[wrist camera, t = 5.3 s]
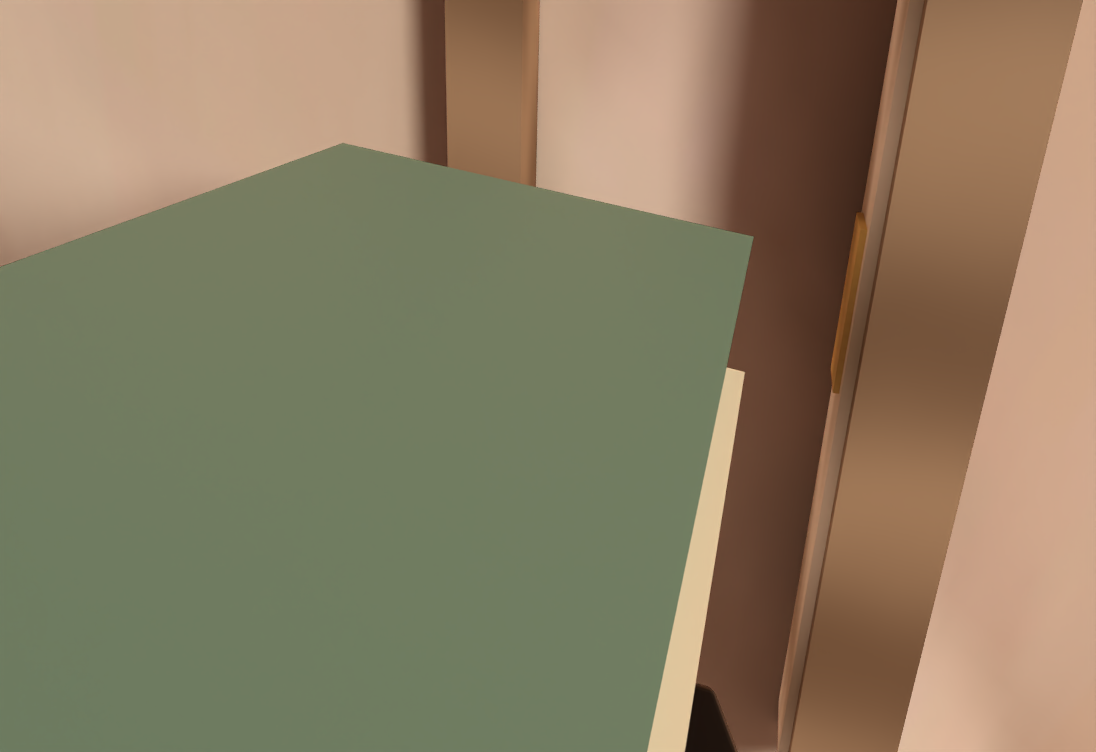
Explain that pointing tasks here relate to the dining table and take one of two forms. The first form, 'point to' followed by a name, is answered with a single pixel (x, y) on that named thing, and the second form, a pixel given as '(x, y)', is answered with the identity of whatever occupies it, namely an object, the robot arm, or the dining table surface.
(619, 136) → the dining table surface
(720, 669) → the dining table surface
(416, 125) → the dining table surface
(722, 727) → the robot arm
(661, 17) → the dining table surface
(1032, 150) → the shelf slot
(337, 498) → the tea box
